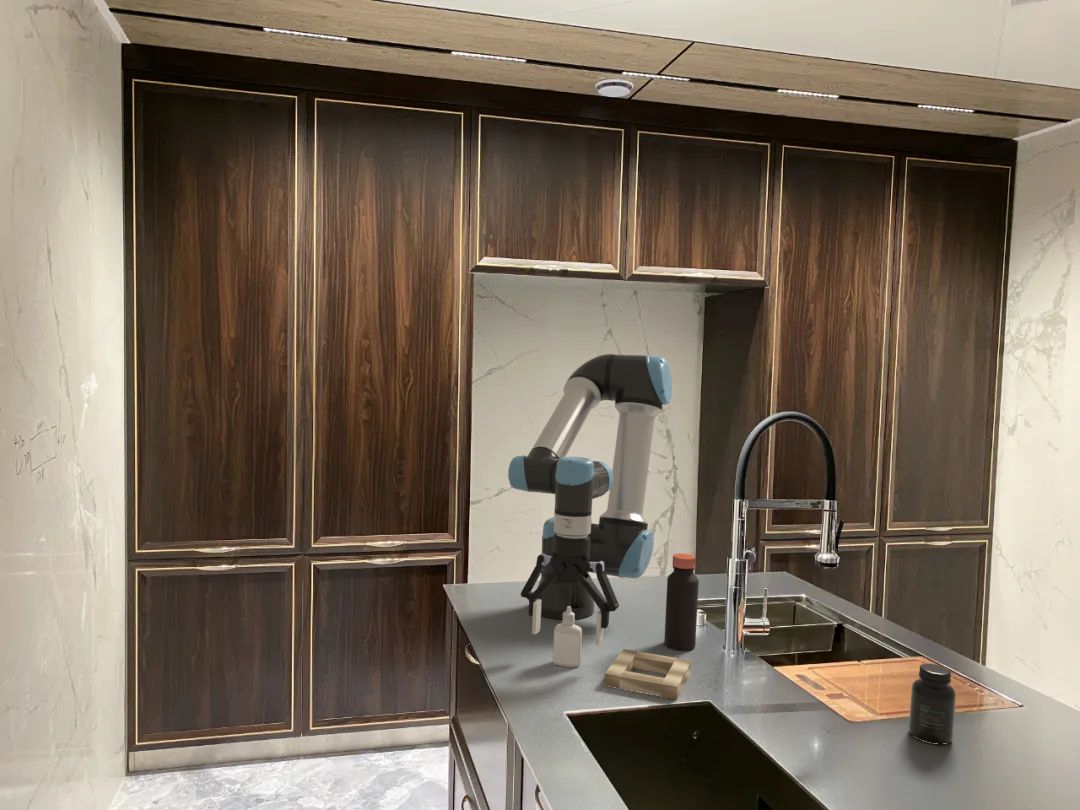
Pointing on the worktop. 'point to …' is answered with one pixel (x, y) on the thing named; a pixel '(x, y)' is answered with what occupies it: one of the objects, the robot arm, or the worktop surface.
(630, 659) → the square wooden frame
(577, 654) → the eye dropper bottle
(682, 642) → the vinegar
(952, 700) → the supplement bottle
